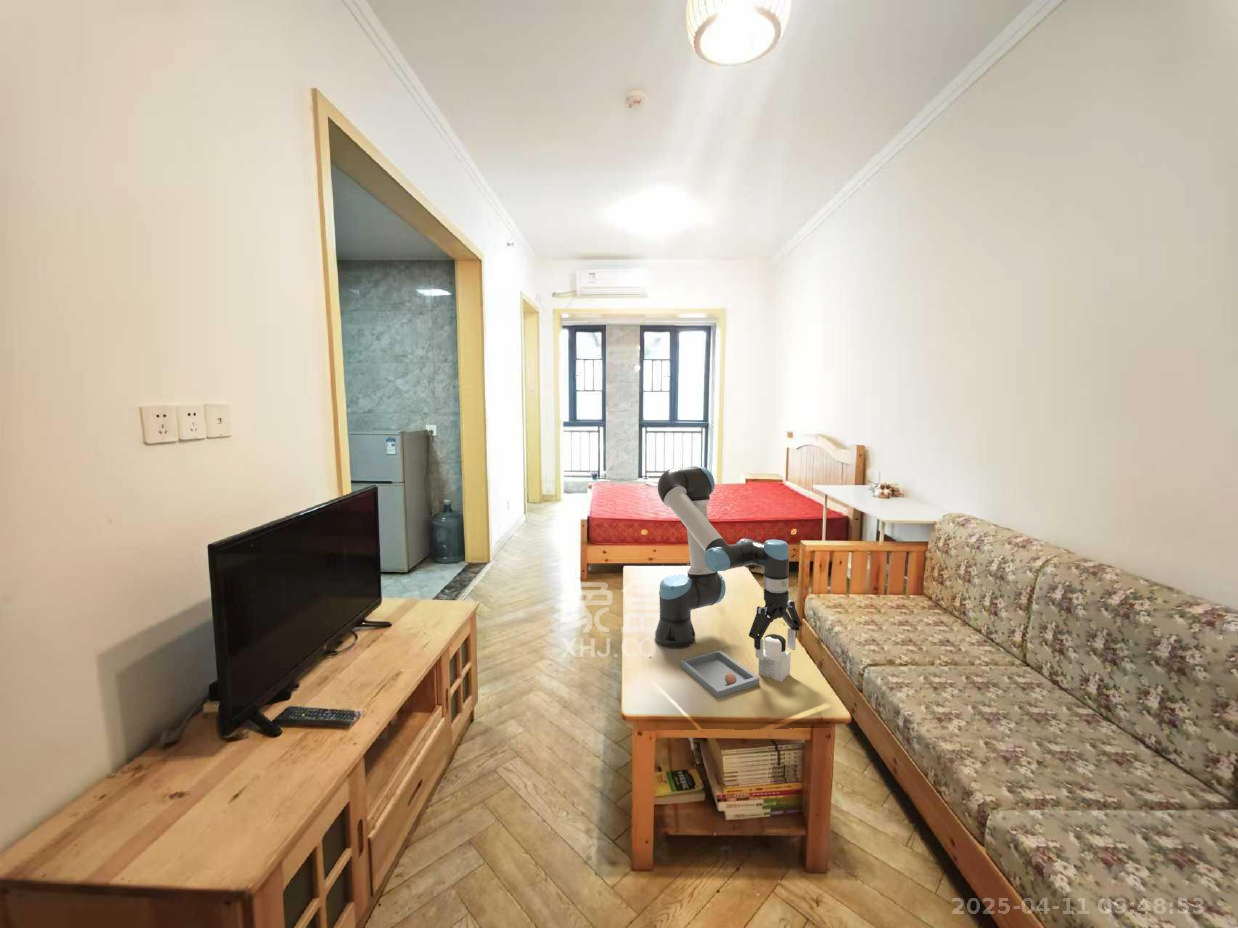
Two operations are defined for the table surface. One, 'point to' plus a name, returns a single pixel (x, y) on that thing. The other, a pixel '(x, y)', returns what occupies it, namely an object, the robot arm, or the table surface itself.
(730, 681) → the ball
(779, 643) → the container
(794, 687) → the table surface
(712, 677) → the tray
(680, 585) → the robot arm
